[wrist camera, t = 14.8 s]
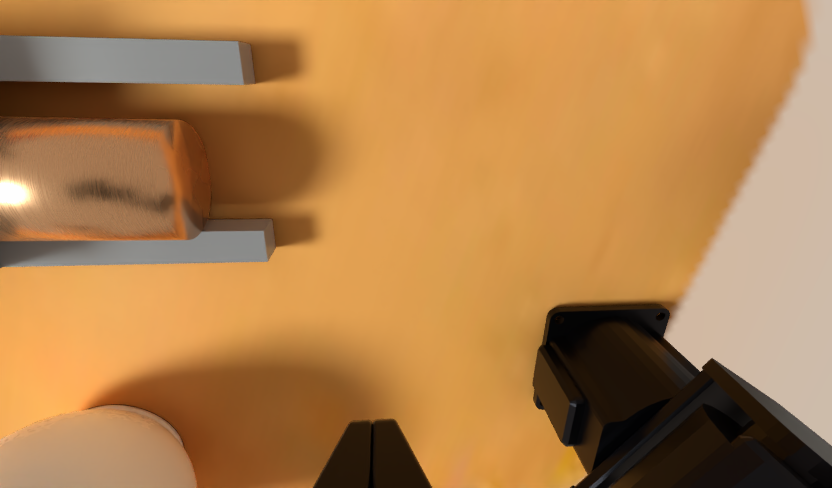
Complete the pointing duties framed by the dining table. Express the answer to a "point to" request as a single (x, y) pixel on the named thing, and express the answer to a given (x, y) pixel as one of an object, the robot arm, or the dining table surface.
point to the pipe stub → (101, 179)
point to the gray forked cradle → (136, 65)
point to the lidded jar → (96, 452)
